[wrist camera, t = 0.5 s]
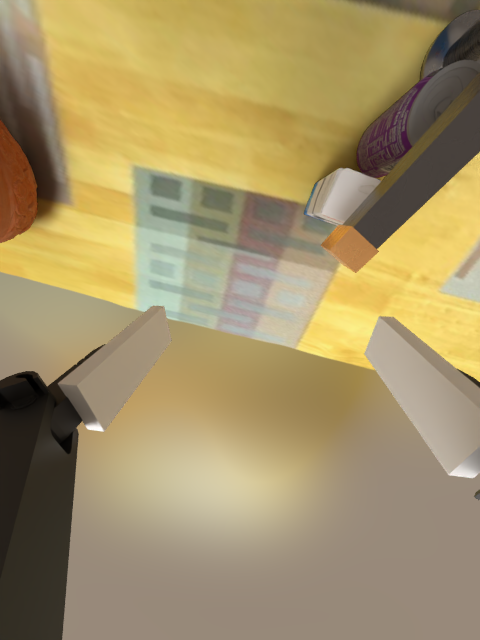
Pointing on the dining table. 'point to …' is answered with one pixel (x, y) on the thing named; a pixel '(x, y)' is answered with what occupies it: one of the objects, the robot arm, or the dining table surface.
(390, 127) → the beverage can
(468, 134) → the swing bar
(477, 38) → the post
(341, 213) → the ink box
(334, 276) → the dining table surface
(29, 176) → the bowl
